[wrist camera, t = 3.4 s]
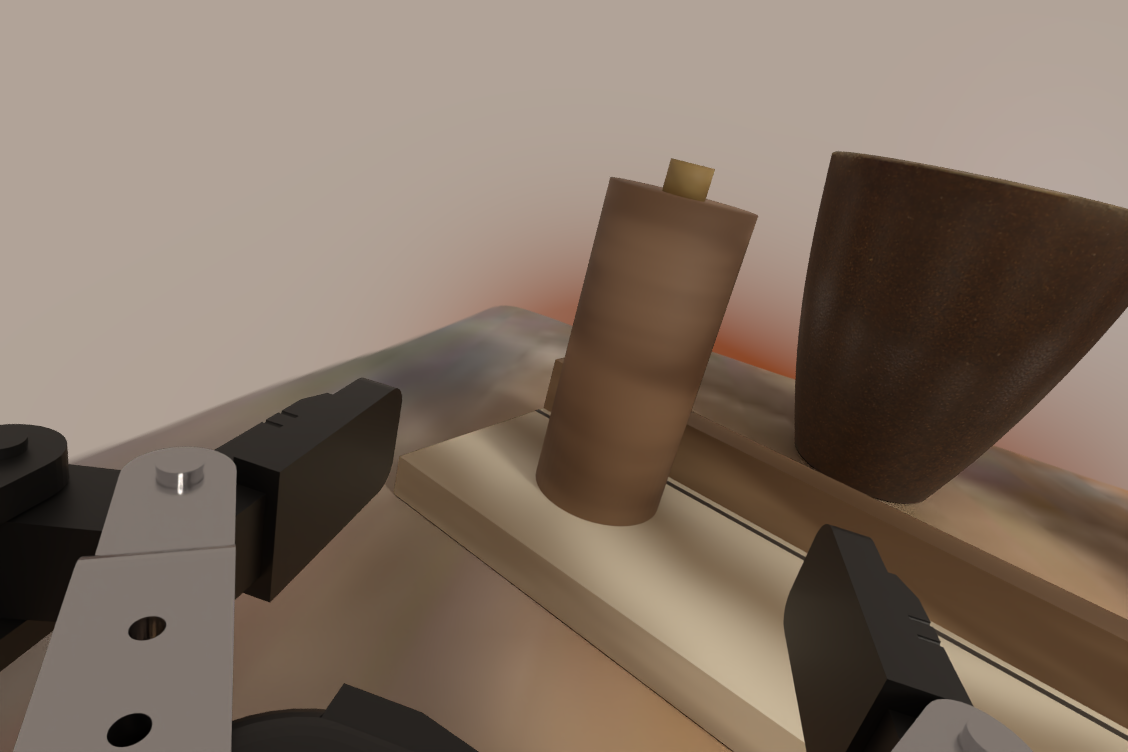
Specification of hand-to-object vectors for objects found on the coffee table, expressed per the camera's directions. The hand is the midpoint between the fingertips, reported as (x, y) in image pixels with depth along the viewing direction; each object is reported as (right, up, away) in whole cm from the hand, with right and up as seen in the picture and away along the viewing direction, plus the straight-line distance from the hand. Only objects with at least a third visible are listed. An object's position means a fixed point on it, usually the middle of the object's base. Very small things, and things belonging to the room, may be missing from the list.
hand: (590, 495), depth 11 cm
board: (+6, -6, +9) cm, 13 cm away
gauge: (+1, -1, +14) cm, 14 cm away
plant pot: (+16, -3, +24) cm, 29 cm away
